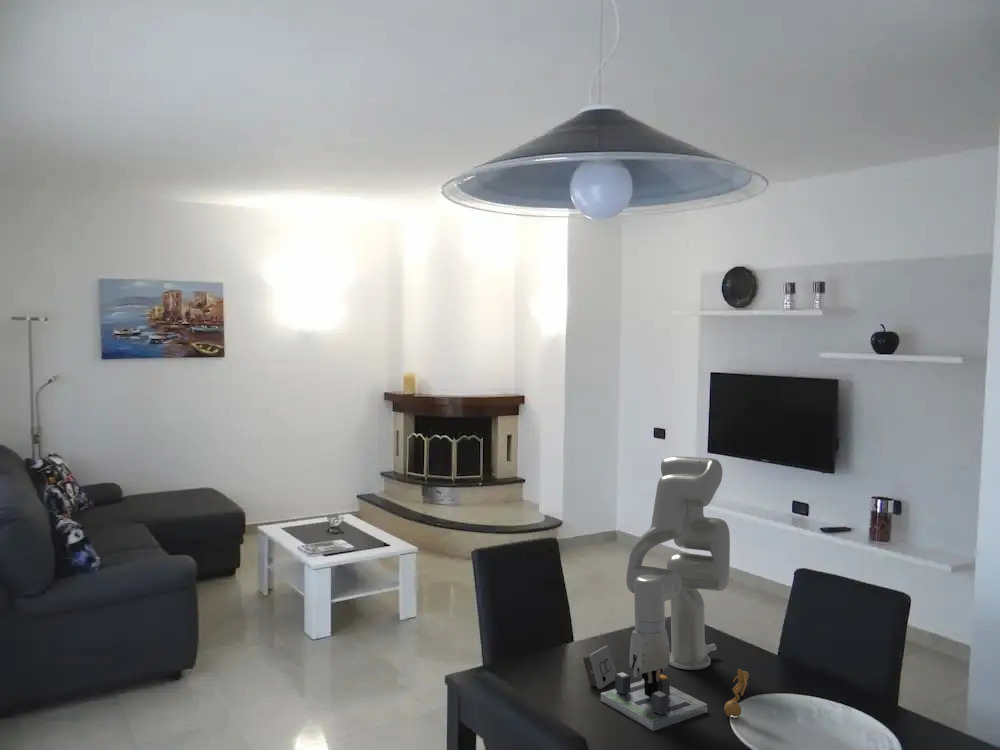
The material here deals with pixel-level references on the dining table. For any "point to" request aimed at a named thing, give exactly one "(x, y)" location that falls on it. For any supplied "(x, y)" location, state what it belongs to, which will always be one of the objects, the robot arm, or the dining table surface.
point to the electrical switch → (600, 667)
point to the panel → (641, 706)
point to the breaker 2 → (659, 702)
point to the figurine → (732, 705)
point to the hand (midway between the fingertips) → (651, 695)
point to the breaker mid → (664, 685)
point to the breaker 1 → (622, 683)
